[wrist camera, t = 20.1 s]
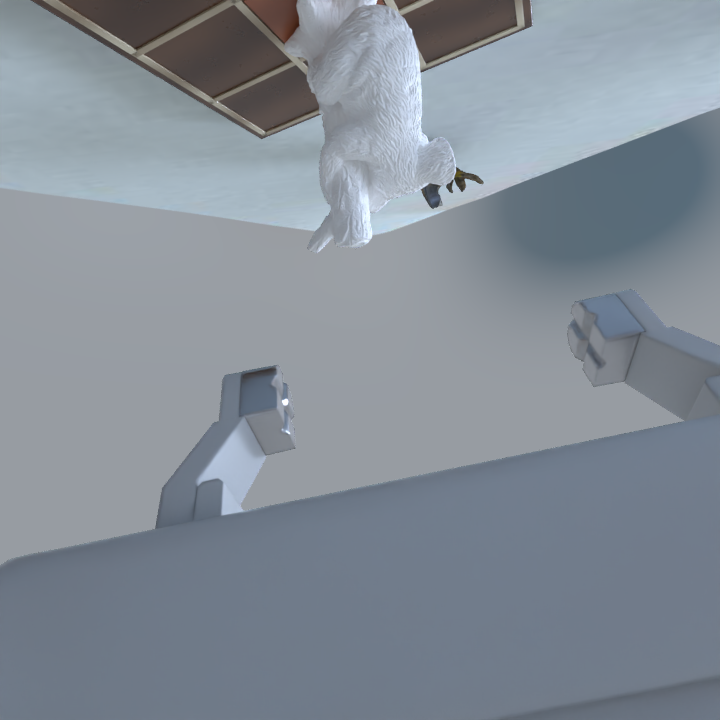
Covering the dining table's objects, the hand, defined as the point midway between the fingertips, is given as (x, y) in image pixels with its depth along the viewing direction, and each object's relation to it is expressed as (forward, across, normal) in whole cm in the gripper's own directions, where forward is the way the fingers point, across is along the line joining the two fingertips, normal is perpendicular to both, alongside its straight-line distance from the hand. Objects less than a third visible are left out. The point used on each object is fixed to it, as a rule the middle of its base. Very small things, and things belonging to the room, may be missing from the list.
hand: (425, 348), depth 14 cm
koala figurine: (+21, 0, -4) cm, 22 cm away
